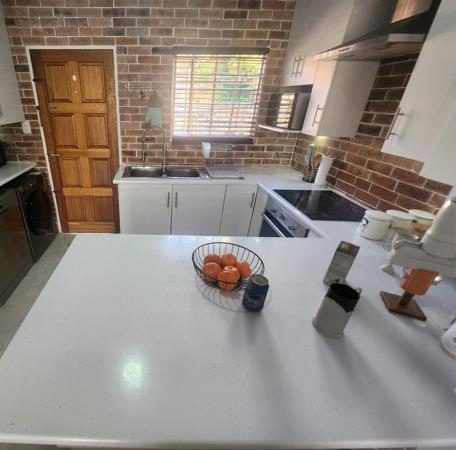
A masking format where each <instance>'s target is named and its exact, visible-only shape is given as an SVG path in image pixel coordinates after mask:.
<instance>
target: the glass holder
mask: <svg viewBox="0 0 456 450" xmlns="http://www.w3.org/2000/svg"><path fill="white" fill-rule="evenodd" d="M362 292H363V288H361V287H360V286H359V287H356V288H353V287H351V286H350V285H347V284H345V283H343V284H341V283H332V284H331V285H329V287H328V289H327V291H326V294H325V295H324V297H323V298H322V301H321V303H320V305H319V307H318V310H317V312H316V314H315V316H314V317H313V318H312V319H311V324H312V326H313V328H315V330H316V331H317V332H318V333H320V334H322V335H323V336H326V337H328V338H331V339H341V338H342V337H343V336H344V330H345V328H346V327H347V325H348V323H349V321H350V320H351V318H352V315H353V313H354V312H355V308H356V306H357V304H358V303H359V301H360V299H361V295H362Z"/></svg>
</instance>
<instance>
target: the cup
mask: <svg viewBox="0 0 456 450" xmlns="http://www.w3.org/2000/svg"><path fill="white" fill-rule="evenodd" d="M406 272H407V273H408V274H409V277H408V278H407V279H405V278H402V279H401V282H400V283H399V286H400V288H401V289H403V290H404V291H407V292H409V293H412V294H415V295H414V296H421V297H422V296H425V295H426V294H427V292H428V291H429V289H430V288H431V286H432V285H431V284H432V283H433V282H434V280H435V279H436V277H438V276H439V275H438V274H439V273H435V272H431V271H426V270H421V269H417V270H415V269H411V268H409V269H408V270H407V271H406Z"/></svg>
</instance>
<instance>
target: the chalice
mask: <svg viewBox="0 0 456 450" xmlns="http://www.w3.org/2000/svg"><path fill="white" fill-rule="evenodd" d="M418 239H419V236H417V235H416V234H414V233H412V232H409V231H405V230H399V229H398V230H395V235H394V236H393V239H392V240H391V250H392V249H393V248H394V245H395V243H396V242H397V241H400V240H409V241H416V240H418ZM402 242H403V241H402ZM379 269H380V270H381V271H382V272H384V273H387V274H391V275H392V274H395V266H394V265H393V264H391V263H390V262H389V261H388V263H383V265H381V266H379Z"/></svg>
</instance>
